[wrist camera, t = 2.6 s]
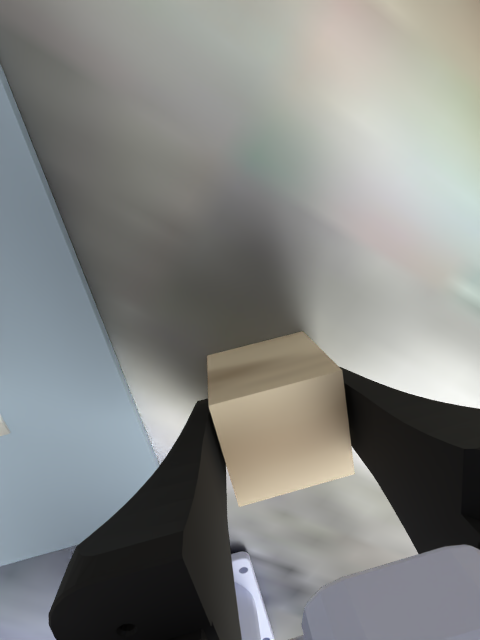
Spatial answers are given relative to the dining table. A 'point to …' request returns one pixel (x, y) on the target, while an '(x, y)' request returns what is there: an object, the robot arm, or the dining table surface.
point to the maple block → (279, 416)
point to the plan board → (54, 374)
